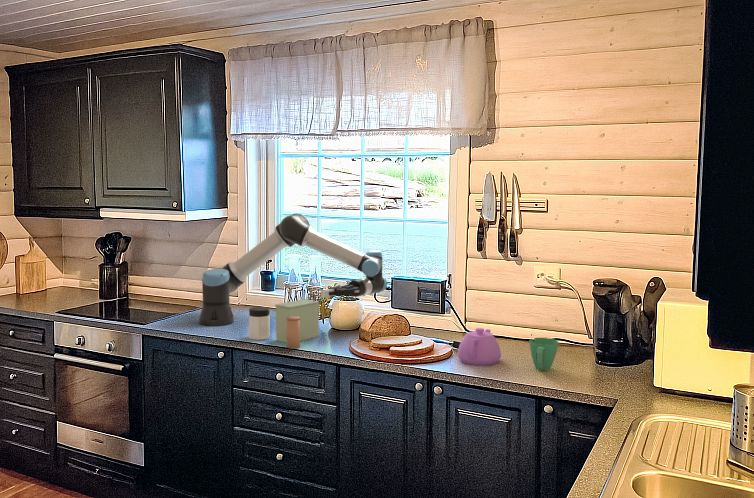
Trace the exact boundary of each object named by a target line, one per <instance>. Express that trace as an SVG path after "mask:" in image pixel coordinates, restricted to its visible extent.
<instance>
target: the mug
mask: <svg viewBox="0 0 754 498" xmlns="http://www.w3.org/2000/svg"><path fill="white" fill-rule="evenodd" d="M558 347H559V341H558V340H557V339H554V338H549V337H534V339H533V338H530V339H529V350H530V353H531V359H532V362H533V365H534V368H535V370H537V369H539V370H538V371H540V370H548V371H550V370H551V368H552V366H553V363H554V360H555V358H556V355H557V352H558ZM549 369H550V370H549Z"/></svg>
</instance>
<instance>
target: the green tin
mask: <svg viewBox="0 0 754 498" xmlns="http://www.w3.org/2000/svg"><path fill="white" fill-rule="evenodd" d="M319 305H320V301H319V300H317V301H316V300H311V299H307V298H306V299H305V298H304V299H298V300H293V301H288V302H282V303H276V304H275V309H276V310H275V326H276V327H275V336H276V337H275V339H276V341H278V340H279V342H282V341H283V343H286V342H287V317H290V316H297V317H300V342H302V341H305V340H309V339H314V338H317V337H319V336H320V333H319V332H320V331H319V329H320V327H319V324H320V323H319V321H320V320H319V319H320V318H319V317H320V314H319V310H320V309H319Z"/></svg>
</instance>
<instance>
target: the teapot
mask: <svg viewBox="0 0 754 498" xmlns="http://www.w3.org/2000/svg"><path fill="white" fill-rule="evenodd" d="M457 356H458V358H459V360H460V361H461V362H462V363H464V364H467V365H471V366H479V367H480V366H481V367H483V366H484V367H485V366H486V367H487V365H488V366H493V365H495V363H496V364H497V363H498V362H499V361H500V359H501V358H502V352H501V347H500V345H499V342H498V340H497V339H496V337H495V336H494V335H493V333H492V332H491V329H485V328H483V327H476V328H475V331H474V330H473V331H468V332H467V333H466V334H465V335H464V337H463V338H462V340H461V341H460V343H459V346H458V349H457Z"/></svg>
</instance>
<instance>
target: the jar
mask: <svg viewBox="0 0 754 498" xmlns="http://www.w3.org/2000/svg"><path fill="white" fill-rule="evenodd" d="M248 311H249V312H248V313H249V314H248V315H249V316H248V327H249V328H248V329H249V330H248V331H249V332H248V334H249V336H248V337H249V340H255V341H261V340H269V339H270V335H271V333H270V332H271V328H270V320H271V319H270V318H271V317H270V308H269V307H267V306H254V307H253V306H252V307H250V308H249V309H248Z"/></svg>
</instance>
